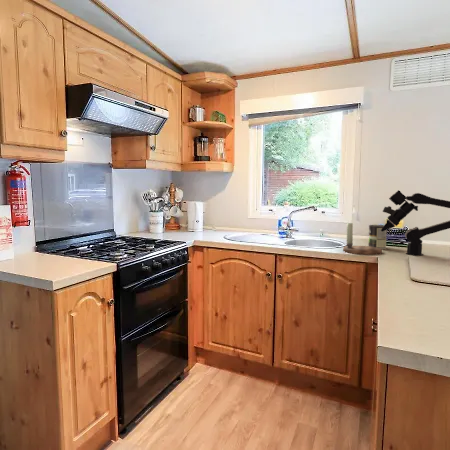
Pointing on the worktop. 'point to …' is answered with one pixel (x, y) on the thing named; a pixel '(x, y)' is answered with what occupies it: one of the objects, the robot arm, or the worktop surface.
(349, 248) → the stool seat
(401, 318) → the worktop surface
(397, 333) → the worktop surface
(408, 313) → the worktop surface
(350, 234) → the folding leg
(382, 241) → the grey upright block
